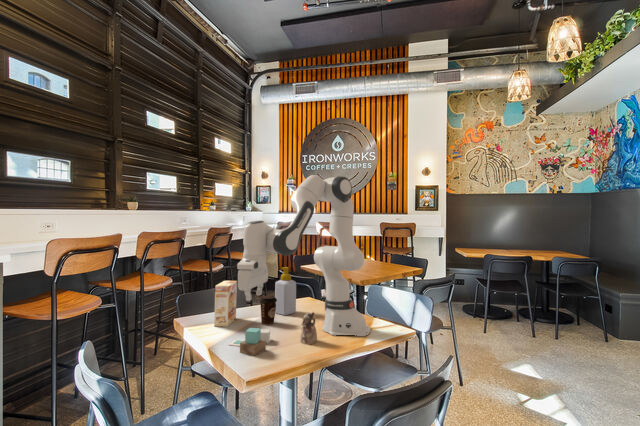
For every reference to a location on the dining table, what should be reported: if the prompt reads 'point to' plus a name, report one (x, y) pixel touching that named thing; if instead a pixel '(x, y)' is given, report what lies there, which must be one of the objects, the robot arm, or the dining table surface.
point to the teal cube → (252, 335)
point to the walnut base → (253, 348)
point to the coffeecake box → (225, 303)
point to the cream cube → (265, 335)
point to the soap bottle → (285, 294)
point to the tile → (236, 342)
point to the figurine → (308, 330)
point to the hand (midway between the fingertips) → (254, 297)
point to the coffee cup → (268, 309)
